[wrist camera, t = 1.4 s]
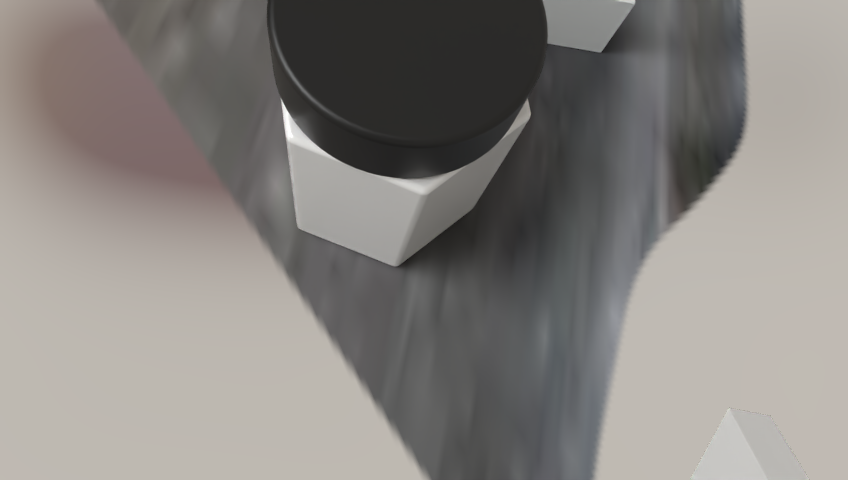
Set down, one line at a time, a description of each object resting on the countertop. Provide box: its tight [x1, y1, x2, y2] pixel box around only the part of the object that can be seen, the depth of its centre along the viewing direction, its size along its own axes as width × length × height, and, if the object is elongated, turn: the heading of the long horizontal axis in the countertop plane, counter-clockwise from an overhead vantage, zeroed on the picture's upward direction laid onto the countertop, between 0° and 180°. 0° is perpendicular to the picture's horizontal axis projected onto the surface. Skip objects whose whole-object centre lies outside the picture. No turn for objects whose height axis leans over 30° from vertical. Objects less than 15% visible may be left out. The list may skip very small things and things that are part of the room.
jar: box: [267, 0, 548, 266], centre depth 25 cm, size 9×8×12 cm
